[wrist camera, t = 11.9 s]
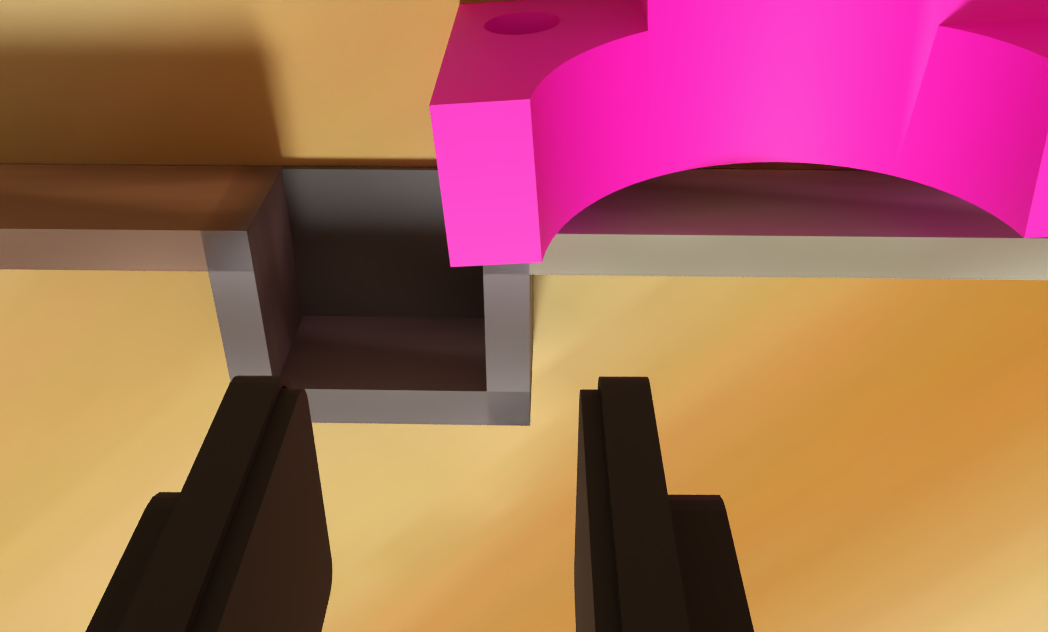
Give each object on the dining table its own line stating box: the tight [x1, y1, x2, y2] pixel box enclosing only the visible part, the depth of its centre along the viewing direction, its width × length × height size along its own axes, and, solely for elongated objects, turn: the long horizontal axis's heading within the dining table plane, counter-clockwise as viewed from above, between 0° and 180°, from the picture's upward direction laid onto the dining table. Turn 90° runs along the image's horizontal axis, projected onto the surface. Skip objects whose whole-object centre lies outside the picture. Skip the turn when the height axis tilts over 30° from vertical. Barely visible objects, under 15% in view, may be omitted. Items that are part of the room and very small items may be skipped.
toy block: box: [429, 0, 1048, 267], centre depth 23 cm, size 15×6×8 cm, turn 94°
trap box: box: [0, 164, 1048, 426], centre depth 25 cm, size 21×42×4 cm, turn 90°
